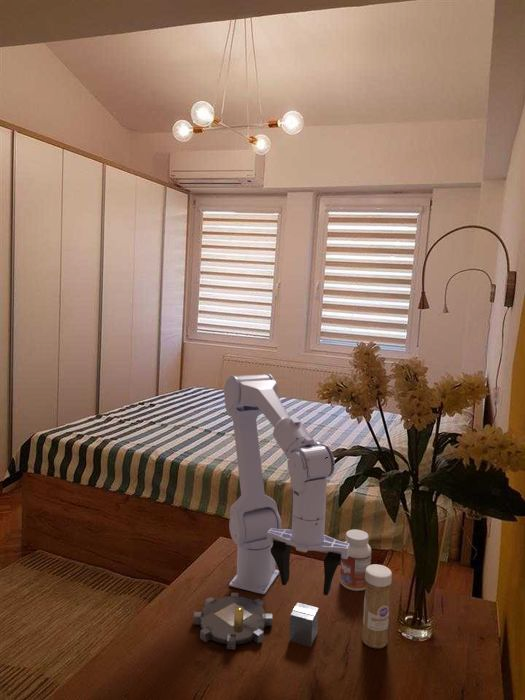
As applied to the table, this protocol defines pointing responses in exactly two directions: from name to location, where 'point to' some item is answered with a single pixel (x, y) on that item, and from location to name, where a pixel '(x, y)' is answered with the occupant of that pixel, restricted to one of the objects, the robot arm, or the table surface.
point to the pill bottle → (356, 561)
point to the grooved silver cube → (304, 624)
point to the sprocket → (232, 620)
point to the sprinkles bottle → (376, 605)
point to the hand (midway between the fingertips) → (305, 587)
